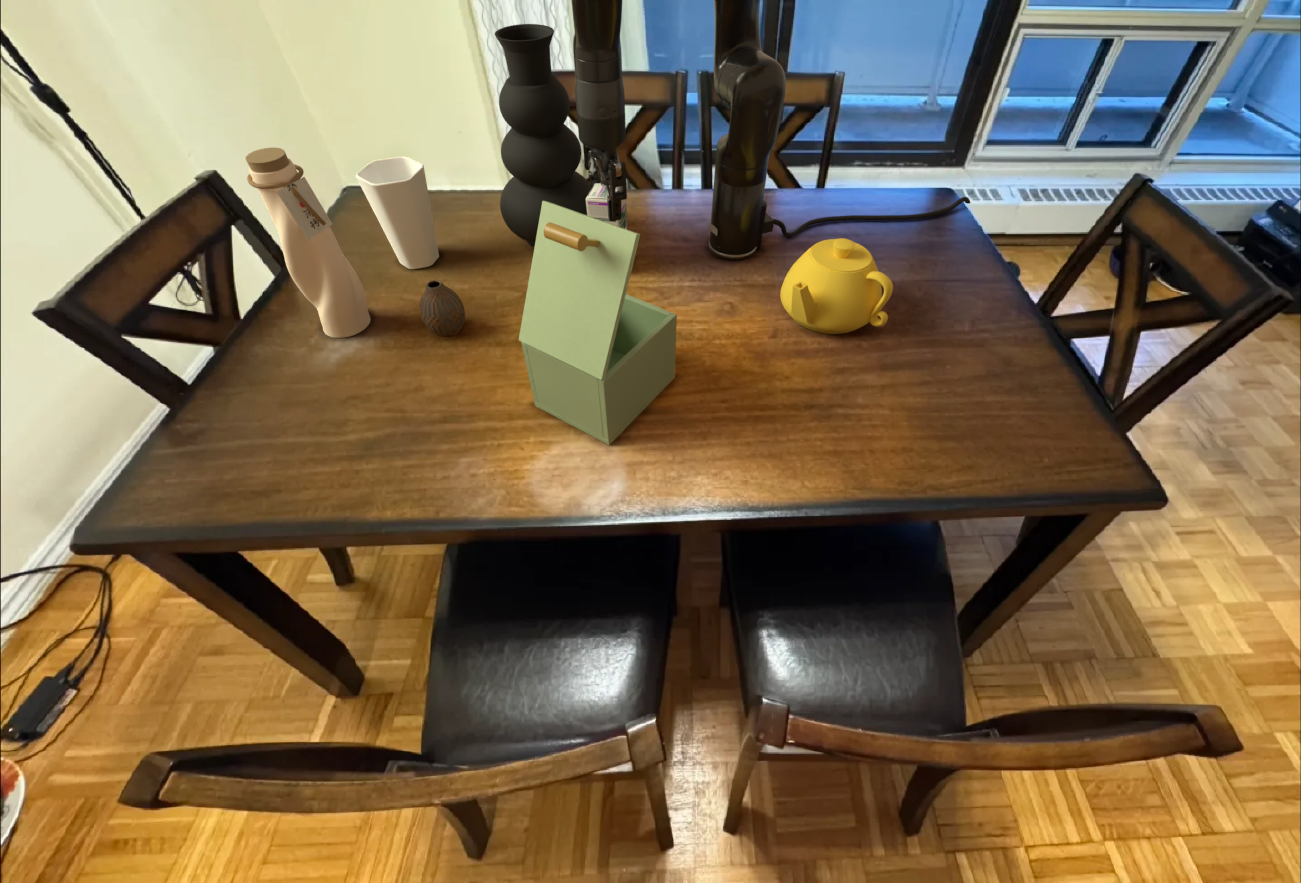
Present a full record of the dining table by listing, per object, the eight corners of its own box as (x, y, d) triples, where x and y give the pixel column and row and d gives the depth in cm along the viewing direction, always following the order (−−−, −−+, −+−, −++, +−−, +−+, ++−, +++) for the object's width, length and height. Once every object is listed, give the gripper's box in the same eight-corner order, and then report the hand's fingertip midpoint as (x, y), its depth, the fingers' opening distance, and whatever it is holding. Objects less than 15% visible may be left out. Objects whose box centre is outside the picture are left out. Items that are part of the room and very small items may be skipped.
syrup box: (622, 275, 109) (619, 199, 98) (592, 271, 110) (585, 196, 99) (629, 258, 113) (626, 184, 102) (599, 255, 114) (593, 181, 103)
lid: (546, 201, 70) (517, 196, 66) (640, 234, 65) (615, 232, 61) (522, 339, 78) (495, 343, 74) (605, 379, 72) (580, 386, 68)
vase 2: (492, 256, 114) (443, 45, 87) (527, 210, 125) (493, 13, 99) (583, 268, 111) (560, 54, 84) (610, 220, 122) (597, 19, 96)
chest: (603, 345, 96) (598, 282, 87) (674, 377, 90) (677, 314, 82) (534, 405, 87) (520, 342, 78) (609, 445, 81) (603, 382, 72)
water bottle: (392, 314, 101) (324, 147, 80) (359, 346, 96) (276, 175, 75) (343, 303, 104) (264, 137, 83) (308, 333, 98) (213, 163, 77)
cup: (446, 241, 117) (421, 153, 105) (452, 267, 111) (425, 177, 98) (388, 250, 115) (355, 162, 102) (390, 278, 109) (355, 187, 96)
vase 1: (433, 346, 96) (416, 301, 89) (423, 323, 100) (406, 278, 93) (474, 334, 98) (461, 289, 91) (463, 311, 102) (449, 267, 95)
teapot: (814, 271, 109) (829, 206, 100) (906, 315, 101) (932, 248, 91) (746, 318, 100) (755, 250, 91) (840, 370, 91) (862, 302, 82)
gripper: (640, 120, 87) (642, 223, 100) (607, 89, 96) (611, 187, 108) (593, 128, 85) (600, 232, 98) (563, 96, 94) (573, 195, 106)
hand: (606, 208), depth 103 cm, fingers closed on syrup box, 7 cm apart
